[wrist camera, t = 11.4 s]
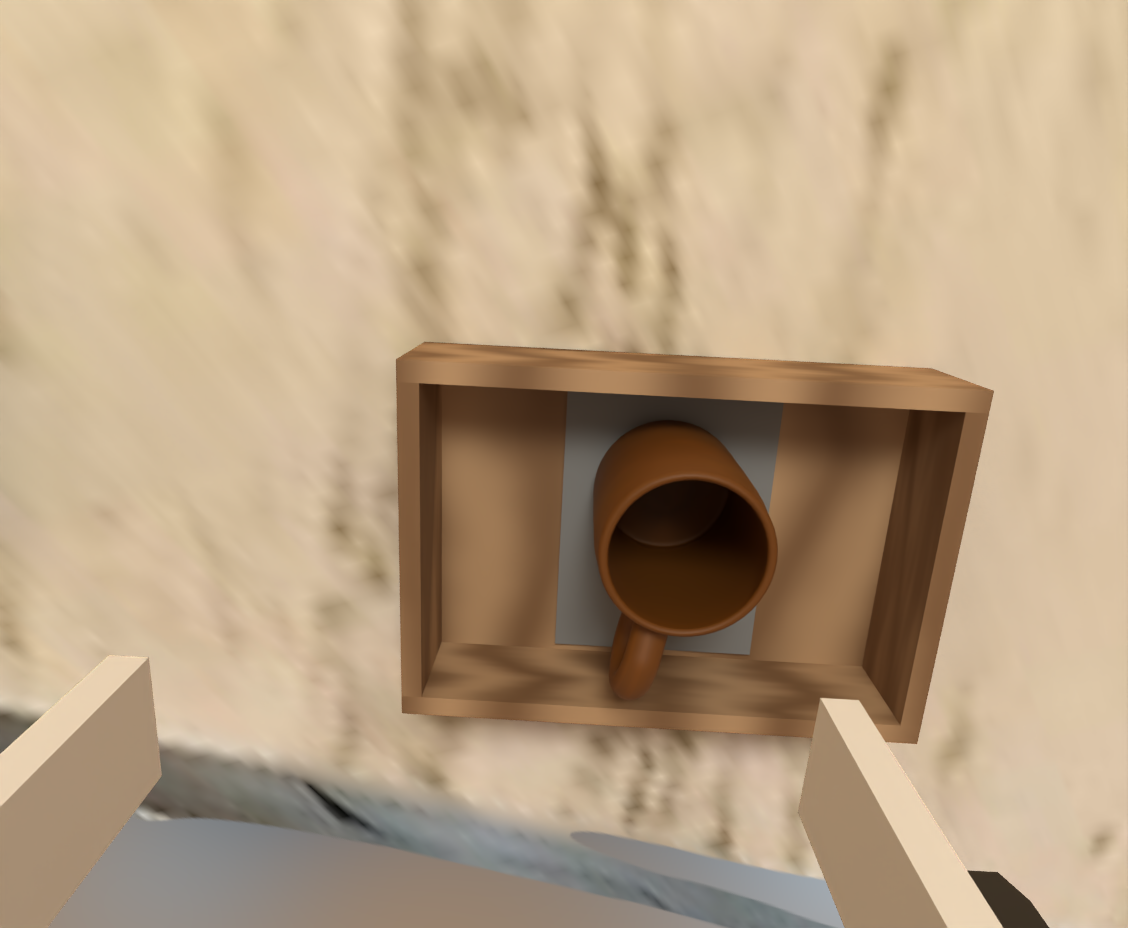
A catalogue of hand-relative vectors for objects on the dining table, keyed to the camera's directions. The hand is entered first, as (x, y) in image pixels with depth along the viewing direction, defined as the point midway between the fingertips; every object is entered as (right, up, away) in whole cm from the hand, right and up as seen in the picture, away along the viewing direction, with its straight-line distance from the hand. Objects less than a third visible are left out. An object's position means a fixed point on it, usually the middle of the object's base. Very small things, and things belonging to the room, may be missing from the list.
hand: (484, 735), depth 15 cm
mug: (+6, +2, +25) cm, 26 cm away
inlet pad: (+7, +2, +26) cm, 27 cm away
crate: (+7, +2, +26) cm, 27 cm away
